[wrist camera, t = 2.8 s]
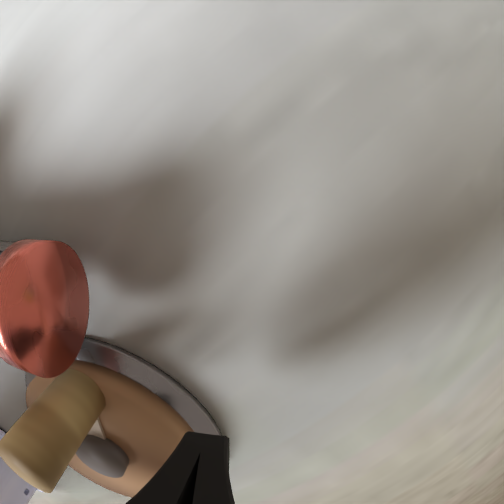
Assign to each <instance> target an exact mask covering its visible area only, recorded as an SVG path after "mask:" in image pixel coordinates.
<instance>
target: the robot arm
mask: <svg viewBox="0 0 504 504" xmlns="http://www.w3.org/2000/svg"><path fill="white" fill-rule="evenodd" d="M5 434H6V433H5V432H4V431H2V430H1V429H0V440H1V439H2V438H3V437H4V435H5ZM36 490H38V491H40V492H43V491H41V490H39V489H37V488H35V487H33V486H32V485H30V484H29V483H27V482H26V481H25V480H23V479H22V478H21V477H19V476H18V475H17V474H16V473H15V472H14V471H13V470H12V469H11V468H10V467H9V466H8V465H7V464H6V463H5V462H4V460H3V459H2V458H1V457H0V504H28V502H29V501H30V499H31V497H32V496H33V494H34V493H35V491H36ZM126 504H235V502H234V498H233V494H232V489H231V483H230V478H229V438H227V437H226V436H220V435H212V434H204V433H197V432H191V431H188V432H186V433H185V434H184V436H183V438H182V439H181V441H180V442H179V444H178V445H177V447H176V448H175V450H174V451H173V452H172V454H171V455H170V456H169V458H168V459H167V460H166V462H165V463H164V464H163V465H162V467H161V468H160V469H159V470H158V471H157V473H156V474H155V475H154V476H153V477H152V478H151V479H150V481H149V482H148V483H147V484H146V485H145V486H144V487H143V488H142V489H141V490H140V491H139V492H138V493H137V494H136V495H135V496H134V497H133V498H131V499H130V500H129V501H128V502H127V503H126Z"/></svg>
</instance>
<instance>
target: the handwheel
mask: <svg viewBox="0 0 504 504" xmlns="http://www.w3.org/2000/svg"><path fill="white" fill-rule="evenodd" d="M26 404H27V410H26V411H25V412H24V413H23V415H22V416H21V417H20V418H19V419H18V420H17V421H16V423H15V424H14V425H13V426H12V427H11V428H10V430H9V431H8V432H7V433H6V434H5V435H4V437H3V438H2V439H1V440H0V457H1V458H2V459H3V460H4V462H5V463H6V464H7V465H8V466H9V467H10V468H11V469H12V470H13V471H14V472H15V473H16V474H17V475H18V476H19V477H21V478H22V479H23V480H25V481H26V482H27V483H29V484H30V485H32V486H33V487H35V488H37V489H39V490H41V491H43V492H46V493H51V492H52V491H53V489H54V487H55V486H56V484H57V482H58V481H59V479H60V477H61V476H62V474H63V472H64V471H65V469H66V468H67V466H68V465H69V466H70V467H72V468H73V469H74V470H76V471H77V472H78V473H80V474H81V475H83V476H84V477H86V478H88V479H89V480H91V481H93V482H95V483H96V484H98V485H100V486H102V487H104V488H106V489H109V490H111V491H114V492H116V493H119V494H122V495H125V496H128V497H132V498H133V497H134V496H135V495H136V494H137V493H138V492H139V491H140V490H141V489H142V488H143V487H144V486H145V485H146V484H147V483H148V482H149V481H150V479H151V478H152V477H153V476H154V475H155V474H156V473H157V471H158V470H159V469H160V468H161V467H162V465H163V464H164V463H165V462H166V460H167V459H168V458H169V456H170V455H171V454H172V452H173V451H174V450H175V448H176V447H177V445H178V444H179V442H180V441H181V439H182V438H183V436H184V434H185V433H186V432H188V431H191V432H194V431H193V430H192V428H191V427H190V426H189V425H188V423H187V422H186V421H185V420H184V419H183V418H182V417H181V416H180V415H179V414H178V413H177V412H176V411H175V410H174V409H173V408H172V407H171V406H170V405H168V404H167V403H166V402H165V401H163V400H162V399H161V398H159V397H158V396H157V395H156V394H154V393H153V392H151V391H150V390H148V389H147V388H145V387H144V386H142V385H140V384H139V383H137V382H135V381H133V380H132V379H130V378H128V377H126V376H124V375H122V374H120V373H118V372H116V371H113V370H111V369H108V368H106V367H103V366H100V365H97V364H94V363H90V362H85V361H80V360H74V362H73V363H72V365H71V366H70V367H69V368H68V369H67V370H66V371H65V372H64V373H62V374H61V375H59V376H56V377H53V378H42V377H39V376H36V377H35V378H34V379H33V380H32V381H31V382H30V383H29V385H28V387H27V391H26Z"/></svg>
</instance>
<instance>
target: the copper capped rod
mask: <svg viewBox="0 0 504 504" xmlns="http://www.w3.org/2000/svg"><path fill="white" fill-rule="evenodd" d="M88 316H89V290H88V283H87V278H86V274H85V271H84V268H83V265H82V263H81V261H80V259H79V257H78V255H77V254H76V253H75V251H74V250H73V249H72V248H71V247H70V246H68V245H67V244H65V243H63V242H59V241H50V240H34V239H24V240H20V241H17V242H15V243H13V244H12V245H10V246H9V247H7V248H6V249H5V250H4V251H3V252H2V253H1V255H0V357H1V358H2V359H3V360H4V361H5V362H7V363H8V364H10V365H12V366H14V367H16V368H18V369H21V370H23V371H26V372H28V373H31V374H33V375H36V376H39V377H42V378H53V377H56V376H59V375H61V374H62V373H64V372H65V371H66V370H67V369H68V368H69V367H70V366H71V365H72V363H73V362H74V360H75V359H76V357H77V355H78V353H79V351H80V349H81V346H82V344H83V341H84V337H85V334H86V329H87V324H88Z"/></svg>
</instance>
